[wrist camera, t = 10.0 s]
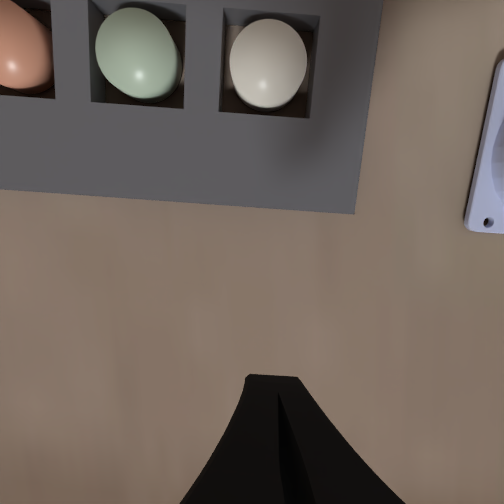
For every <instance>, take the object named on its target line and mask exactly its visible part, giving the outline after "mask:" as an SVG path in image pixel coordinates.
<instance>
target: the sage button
mask: <svg viewBox="0 0 504 504" xmlns="http://www.w3.org/2000/svg"><path fill="white" fill-rule="evenodd" d="M95 50H96V57H97V61H98V64H99V67H100V69H101V71H102V73H103V74H104V76H105V77H106V78H107V80H108V81H109V82H110V83H111V84H113V85H114V86H115V87H117V88H118V89H120V90H121V91H122V92H124V93H125V94H127V95H128V96H130V97H131V98H133V99H135V100H137V101H140V102H143V103H156V102H160V101H162V100H164V99H166V98H167V97H169V96H170V95H171V94H172V93H173V92H174V91H175V89H176V88H177V86H178V84H179V82H180V79H181V75H182V61H181V56H180V53H179V51H178V48H177V47H176V45H175V43H174V41H173V39H172V37H171V36H170V34H169V32H168V30H167V28H166V27H165V26H164V24H163V23H162V22H161V21H160V20H159V19H158V18H157V17H156V16H155V15H153V14H152V13H150V12H148V11H146V10H143V9H140V8H123V9H120V10H118V11H116V12H114V13H112V14H111V15H110V16H108V17H107V18H106V19H105V21H104V22H103V23H102V25H101V27H100V29H99V31H98V34H97V37H96V46H95Z"/></svg>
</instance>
